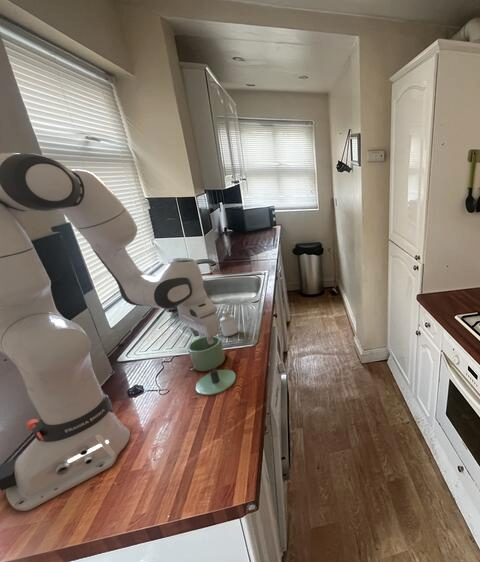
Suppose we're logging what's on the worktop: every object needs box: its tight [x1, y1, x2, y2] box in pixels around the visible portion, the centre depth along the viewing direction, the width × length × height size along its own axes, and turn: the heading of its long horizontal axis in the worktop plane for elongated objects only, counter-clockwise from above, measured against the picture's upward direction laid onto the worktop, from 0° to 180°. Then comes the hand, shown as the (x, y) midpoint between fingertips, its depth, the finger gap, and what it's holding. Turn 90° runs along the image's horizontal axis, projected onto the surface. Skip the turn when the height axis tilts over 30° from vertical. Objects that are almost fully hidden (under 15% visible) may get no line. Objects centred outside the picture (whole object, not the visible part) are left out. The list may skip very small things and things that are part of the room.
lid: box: [195, 368, 237, 396], centre depth 100 cm, size 12×12×5 cm
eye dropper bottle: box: [219, 307, 238, 337], centre depth 128 cm, size 4×6×12 cm
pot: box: [187, 335, 226, 372], centre depth 110 cm, size 10×10×8 cm
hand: (203, 339), depth 108 cm, fingers open, 8 cm apart
